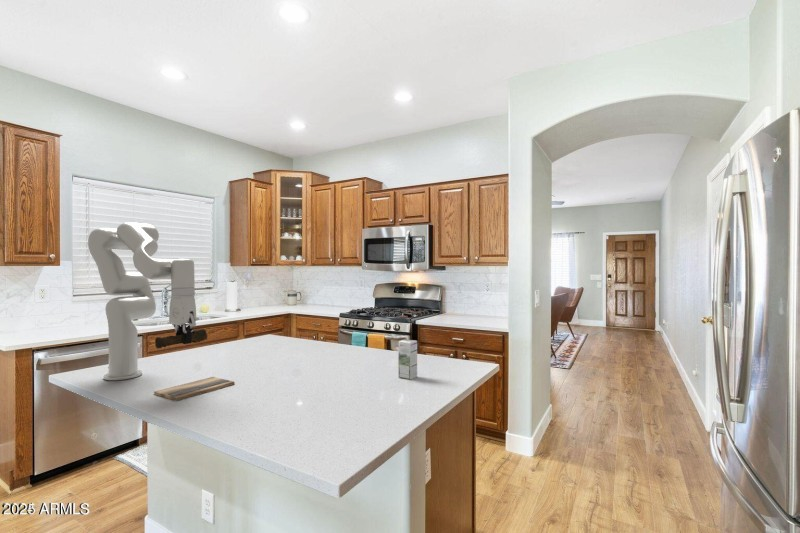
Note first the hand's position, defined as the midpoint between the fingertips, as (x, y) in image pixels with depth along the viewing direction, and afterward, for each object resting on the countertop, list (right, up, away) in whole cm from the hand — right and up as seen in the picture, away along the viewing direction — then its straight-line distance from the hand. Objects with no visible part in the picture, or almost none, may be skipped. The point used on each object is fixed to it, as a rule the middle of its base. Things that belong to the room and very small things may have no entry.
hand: (183, 342), depth 148 cm
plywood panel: (+6, -16, -3) cm, 17 cm away
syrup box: (+82, -16, +13) cm, 84 cm away
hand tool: (-1, -1, 0) cm, 1 cm away
